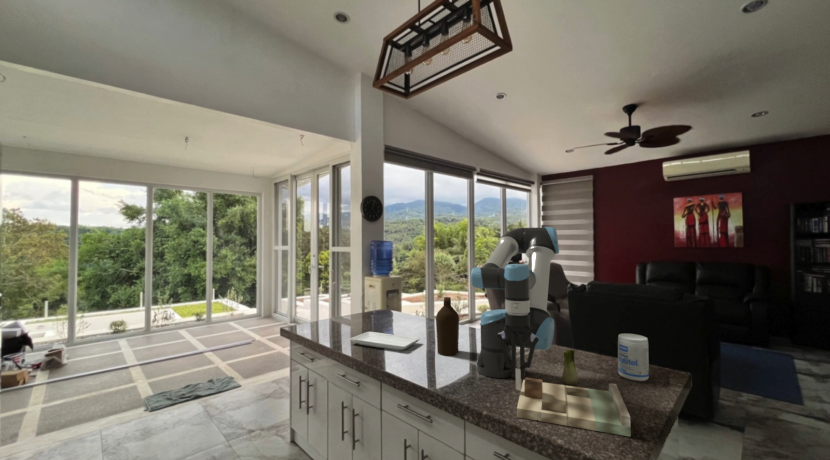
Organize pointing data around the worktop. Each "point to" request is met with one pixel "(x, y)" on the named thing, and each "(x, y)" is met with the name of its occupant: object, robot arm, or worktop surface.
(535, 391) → the block
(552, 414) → the board
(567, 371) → the fennel bulb
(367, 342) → the tray
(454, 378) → the worktop surface
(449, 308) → the olive oil
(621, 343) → the supplement tub
